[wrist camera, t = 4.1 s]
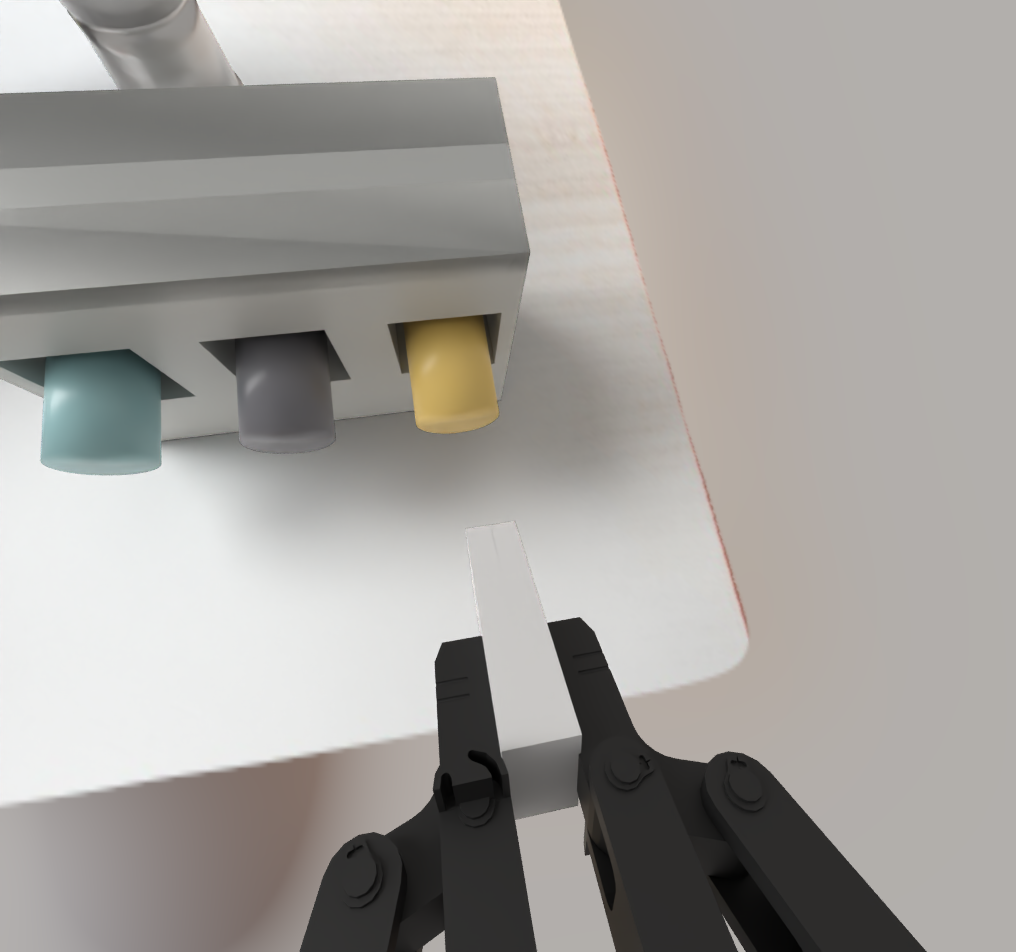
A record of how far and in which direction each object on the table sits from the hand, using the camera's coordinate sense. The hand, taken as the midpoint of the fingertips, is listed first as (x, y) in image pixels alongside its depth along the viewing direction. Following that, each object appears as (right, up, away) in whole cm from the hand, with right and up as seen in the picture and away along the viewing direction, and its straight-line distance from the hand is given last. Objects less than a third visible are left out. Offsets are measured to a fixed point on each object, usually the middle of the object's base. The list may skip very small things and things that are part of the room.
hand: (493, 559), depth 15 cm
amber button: (-2, +7, +8) cm, 11 cm away
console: (-10, +9, +13) cm, 19 cm away
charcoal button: (-9, +6, +7) cm, 13 cm away
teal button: (-16, +5, +6) cm, 18 cm away
